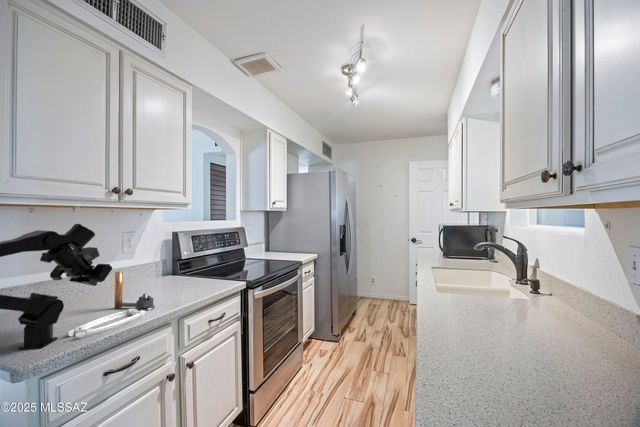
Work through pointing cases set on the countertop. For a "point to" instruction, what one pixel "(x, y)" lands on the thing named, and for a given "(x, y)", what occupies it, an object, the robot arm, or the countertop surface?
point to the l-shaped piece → (118, 295)
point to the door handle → (85, 332)
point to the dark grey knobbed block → (145, 308)
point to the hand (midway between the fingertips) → (95, 284)
